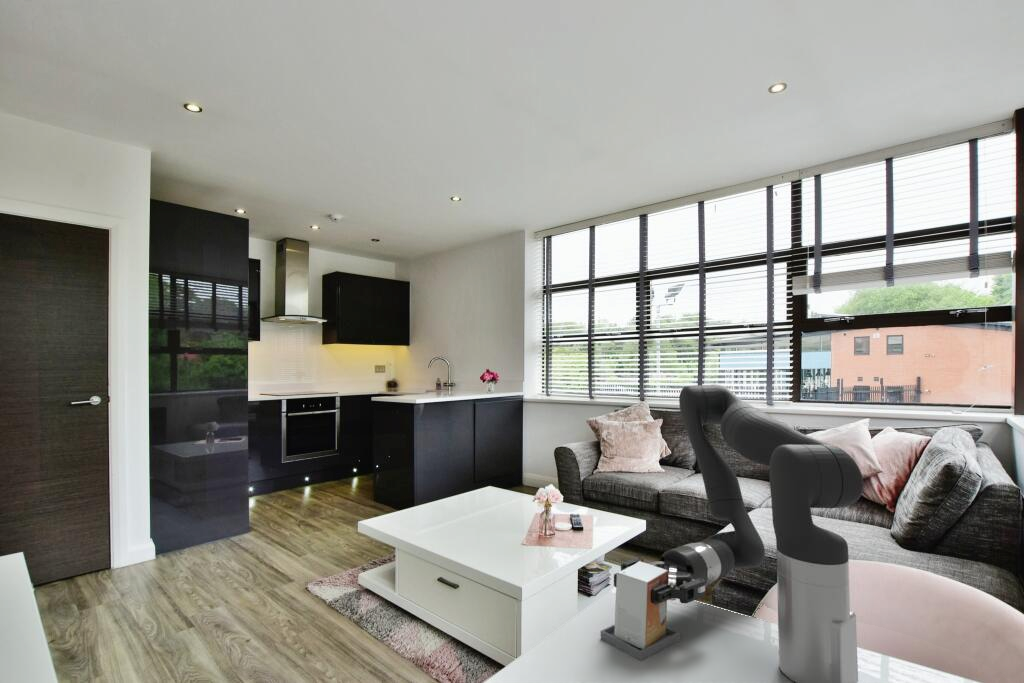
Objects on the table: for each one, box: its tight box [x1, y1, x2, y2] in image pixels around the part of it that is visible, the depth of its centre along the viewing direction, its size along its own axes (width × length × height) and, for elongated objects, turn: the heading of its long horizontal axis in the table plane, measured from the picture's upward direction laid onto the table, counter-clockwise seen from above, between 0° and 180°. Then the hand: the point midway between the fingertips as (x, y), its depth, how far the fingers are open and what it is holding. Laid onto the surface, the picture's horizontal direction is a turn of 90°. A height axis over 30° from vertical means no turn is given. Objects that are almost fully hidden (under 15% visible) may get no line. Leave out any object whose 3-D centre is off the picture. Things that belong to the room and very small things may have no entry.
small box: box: [614, 561, 668, 649], centre depth 83 cm, size 8×6×10 cm
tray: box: [600, 624, 680, 661], centre depth 83 cm, size 8×10×1 cm
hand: (633, 589), depth 82 cm, fingers open, 7 cm apart
